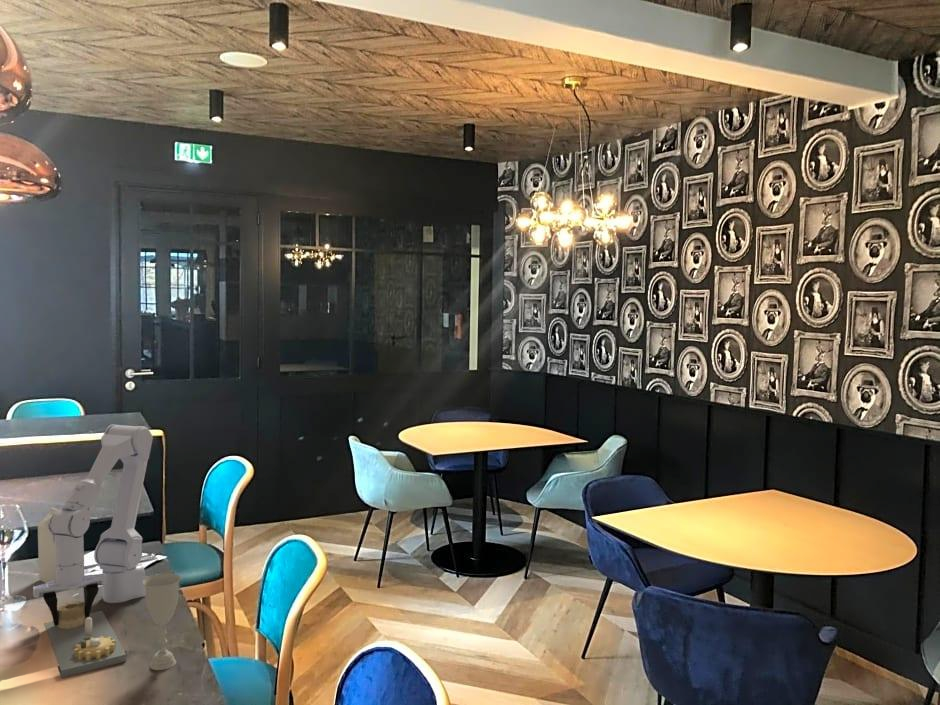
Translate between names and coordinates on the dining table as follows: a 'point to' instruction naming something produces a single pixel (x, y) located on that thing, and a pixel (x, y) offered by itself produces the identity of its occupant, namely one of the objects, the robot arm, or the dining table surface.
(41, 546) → the milk carton
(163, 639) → the chalice
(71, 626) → the wooden ring spacer
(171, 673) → the dining table surface
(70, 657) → the gear board
